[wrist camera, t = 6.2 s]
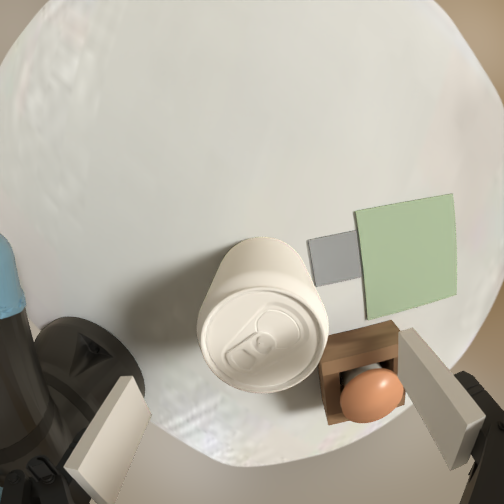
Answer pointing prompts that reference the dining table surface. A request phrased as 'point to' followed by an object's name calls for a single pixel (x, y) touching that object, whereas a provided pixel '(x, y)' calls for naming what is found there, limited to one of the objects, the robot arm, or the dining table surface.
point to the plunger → (369, 393)
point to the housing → (355, 361)
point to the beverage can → (262, 318)
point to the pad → (408, 254)
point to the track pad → (335, 258)
